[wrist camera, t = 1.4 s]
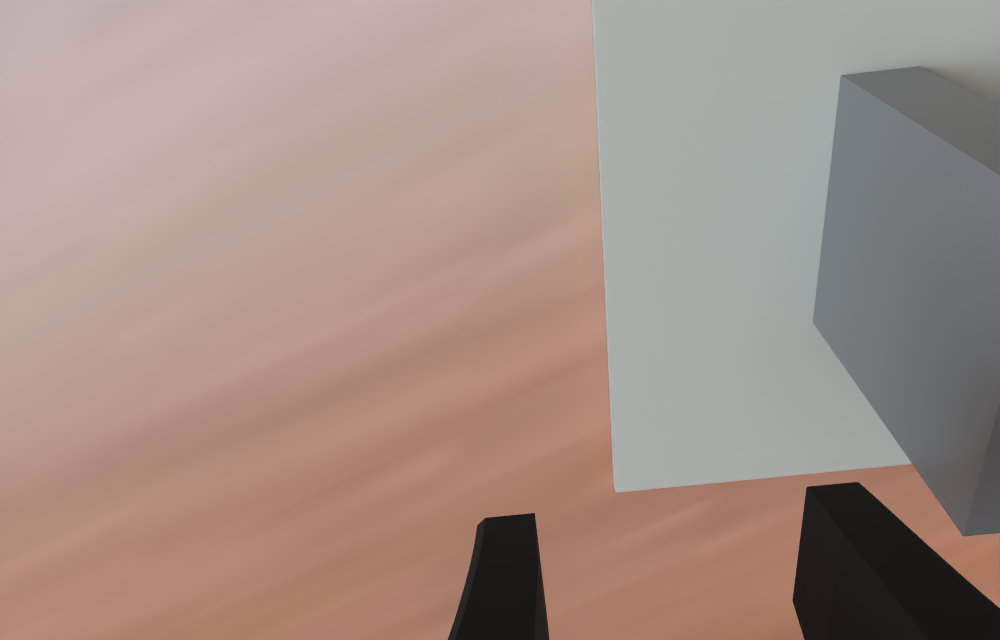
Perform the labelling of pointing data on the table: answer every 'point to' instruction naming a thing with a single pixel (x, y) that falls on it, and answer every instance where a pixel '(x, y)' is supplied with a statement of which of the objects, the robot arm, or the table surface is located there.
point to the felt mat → (741, 223)
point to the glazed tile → (920, 276)
